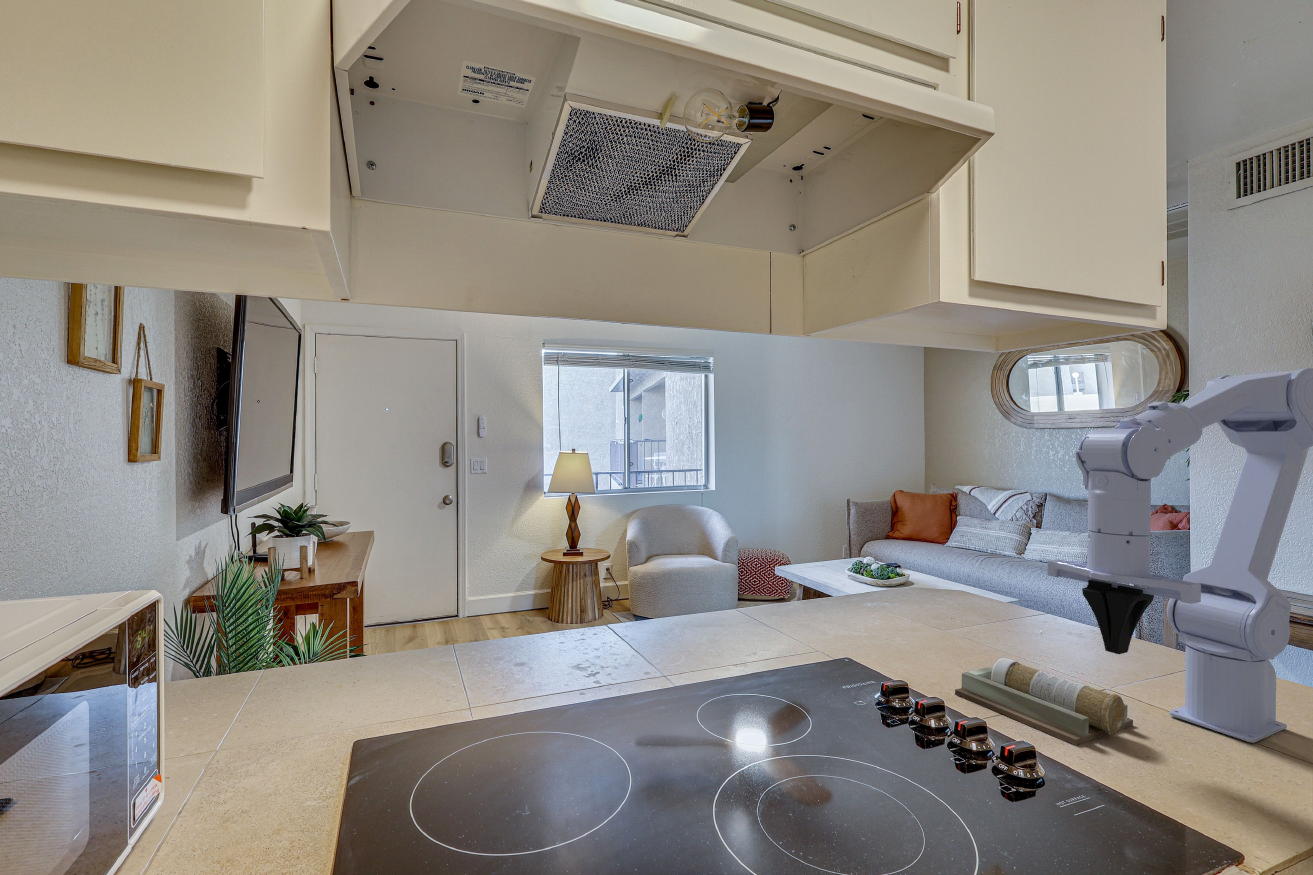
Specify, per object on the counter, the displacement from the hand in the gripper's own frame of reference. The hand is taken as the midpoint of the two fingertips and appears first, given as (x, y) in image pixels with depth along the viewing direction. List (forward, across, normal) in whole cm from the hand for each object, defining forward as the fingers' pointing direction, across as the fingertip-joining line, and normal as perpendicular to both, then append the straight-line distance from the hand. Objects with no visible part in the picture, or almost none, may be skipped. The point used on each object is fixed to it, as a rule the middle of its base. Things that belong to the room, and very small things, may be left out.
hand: (1116, 651), depth 69 cm
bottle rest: (+10, -8, 0) cm, 13 cm away
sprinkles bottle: (+7, 0, 0) cm, 7 cm away
